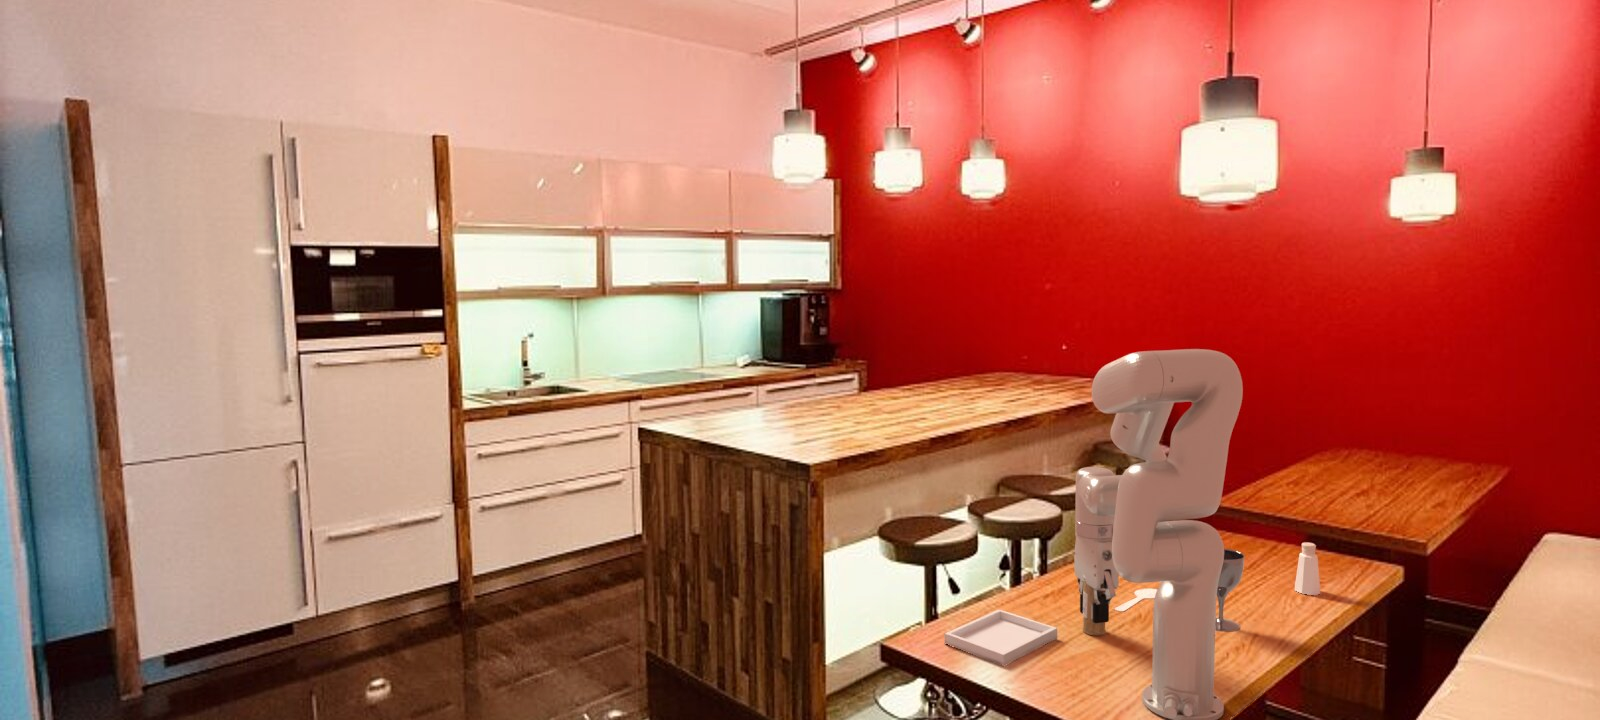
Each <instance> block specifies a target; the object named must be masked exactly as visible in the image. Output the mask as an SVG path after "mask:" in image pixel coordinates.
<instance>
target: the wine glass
mask: <svg viewBox="0 0 1600 720" xmlns="http://www.w3.org/2000/svg"><path fill="white" fill-rule="evenodd" d="M1244 567H1245V555H1244V553H1243V552H1240V551H1238V550H1235V549H1230V548H1225V547H1224V560H1223V565H1222V569H1221V573H1220V577H1219V582H1218V588H1217V597H1216V598H1217V601H1218V617H1216V620H1215V631H1219V632H1227V633H1229V632H1230V633H1231V632H1236V631H1238V630H1240V629H1241V626H1240V624H1239V623H1237V622H1236V621H1235V620H1231V619H1227V618H1224V606H1225V601H1226V598H1227V597H1228V595H1229V594H1230V592H1232V591H1233V590H1234V589H1235V588H1237V587H1238V585H1239V584H1240V582H1241V579H1242V577H1243V574H1244V573H1243V572H1244V569H1245V568H1244Z"/></svg>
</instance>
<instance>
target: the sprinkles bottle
mask: <svg viewBox="0 0 1600 720" xmlns="http://www.w3.org/2000/svg"><path fill="white" fill-rule="evenodd" d="M1083 577H1084V578H1086V577H1085V575H1083ZM1084 578H1083V579H1084ZM1084 580H1085V579H1084ZM1101 587H1104V585H1101ZM1101 594H1104V591H1099V595H1101ZM1093 603H1095V598H1094V588H1092V587H1091V586H1089V585H1088V584H1087V583H1086V581H1084V583H1083V614H1082V619H1083V620H1082V621H1083V623H1082V631H1083V632H1084V634H1087V635H1090V636H1093V637H1094V636H1103V635H1104V634H1106V632H1107V631H1106V622H1104V623H1094V622H1093Z"/></svg>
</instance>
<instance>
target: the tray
mask: <svg viewBox="0 0 1600 720" xmlns="http://www.w3.org/2000/svg"><path fill="white" fill-rule="evenodd" d="M1057 639H1058V627H1056V626H1052V625H1049V624H1047V623H1044V622H1040V621H1037V620H1033V619H1031V618H1027V617H1024V616H1021V615H1018V614H1015V613H1012V612H1010V611H1009V612H1008V611H1005V610H1002V609H997V610H994V611H992V612H990V613H988V614H985V615H983V616H980V617H979V618H977V619H974V620H971V621H969V622H967V623H965V624H963V625H960V626H959V627H958V626H957V628H953V629H952V630H949V631H947V632H944V644H945V643H946V644H949V645H951V646H954V647H956V648H958V649H957V650H959V649H961V650H960V651H962V650H963V651H962V652H964V651H966V652H965V653H967V652H969V653H968V654H970V653H971V654H970V655H972V654H973V656H975V655H976V656H975V657H978V656H979V657H978V658H980V657H981V658H980V659H983V660H986V661H988V662H991V663H993V664H994V663H995V664H996V665H999V666H1002V667H1005V666H1007V665H1009V664H1011V663H1012V661H1013V662H1014V660H1015V661H1017V660H1019V659H1021V658H1023V657H1024V656H1026V655H1028V654H1030V653H1032V652H1033V650H1034V651H1036V650H1038V649H1040V648H1042V647H1043V645H1044V646H1045V644H1046V645H1048V644H1049V642H1050V643H1051V641H1052V642H1053V640H1054V641H1055V640H1057ZM1047 643H1048V644H1047ZM946 644H945V645H946ZM951 646H950V647H951ZM1041 646H1042V647H1041ZM954 647H953V648H954ZM1039 647H1040V648H1039ZM956 648H955V649H956ZM1037 648H1038V649H1037ZM1031 651H1032V652H1031ZM1029 652H1030V653H1029ZM1027 653H1028V654H1027ZM1025 654H1026V655H1025ZM1018 658H1019V659H1018ZM1016 659H1017V660H1016ZM1010 662H1011V663H1010ZM1008 663H1009V664H1008ZM1006 664H1007V665H1006ZM1004 665H1005V666H1004Z"/></svg>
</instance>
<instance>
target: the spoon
mask: <svg viewBox="0 0 1600 720" xmlns="http://www.w3.org/2000/svg"><path fill="white" fill-rule="evenodd" d="M1157 590H1158V588H1157V589H1156V588H1151V587H1148V588H1147V587H1145V588H1140V589H1137V590H1135V591H1134V593H1133V595H1134V594H1135V595H1134V596H1135V598H1132V599H1130V600H1128V601H1125V602H1124V603H1122V604H1119V605H1117V606H1116V607H1114V611H1116V612H1126V611H1128V610H1129V609H1131V608H1132V607H1133V606H1134V605H1136V604H1137V603H1139V602H1141V601H1142V600H1145V599H1146V600H1151V599H1152V600H1154V598H1155V595H1156V592H1157Z"/></svg>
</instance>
